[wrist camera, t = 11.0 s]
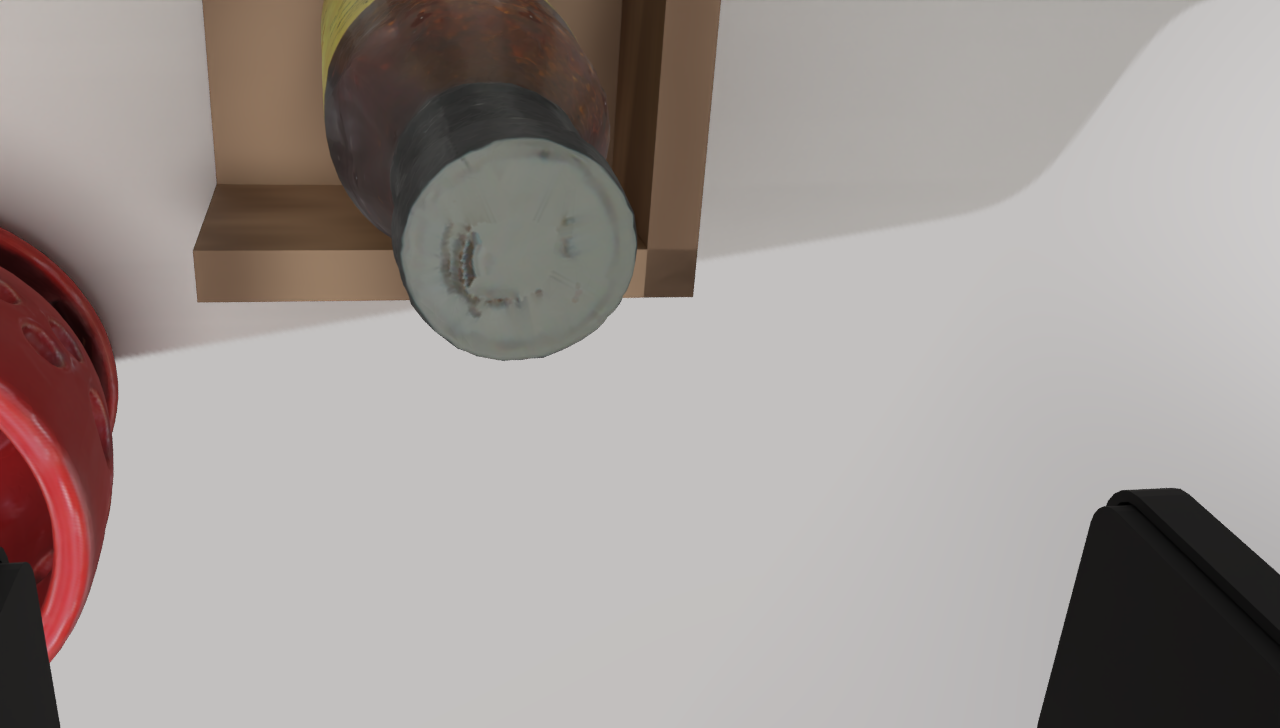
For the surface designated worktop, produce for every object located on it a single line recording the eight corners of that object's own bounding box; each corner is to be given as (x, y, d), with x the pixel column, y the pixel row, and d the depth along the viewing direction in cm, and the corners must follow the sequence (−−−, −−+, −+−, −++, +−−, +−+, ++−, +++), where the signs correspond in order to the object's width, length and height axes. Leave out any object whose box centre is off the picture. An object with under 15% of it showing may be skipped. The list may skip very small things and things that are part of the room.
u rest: (677, -207, 37) (740, -202, 31) (644, 234, 43) (691, 312, 37) (187, -244, 34) (147, -247, 28) (224, 234, 40) (199, 319, 34)
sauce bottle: (287, 58, 37) (216, 318, 20) (384, -132, 35) (401, -32, 18) (477, 160, 40) (565, 472, 22) (577, -12, 38) (757, 178, 20)
